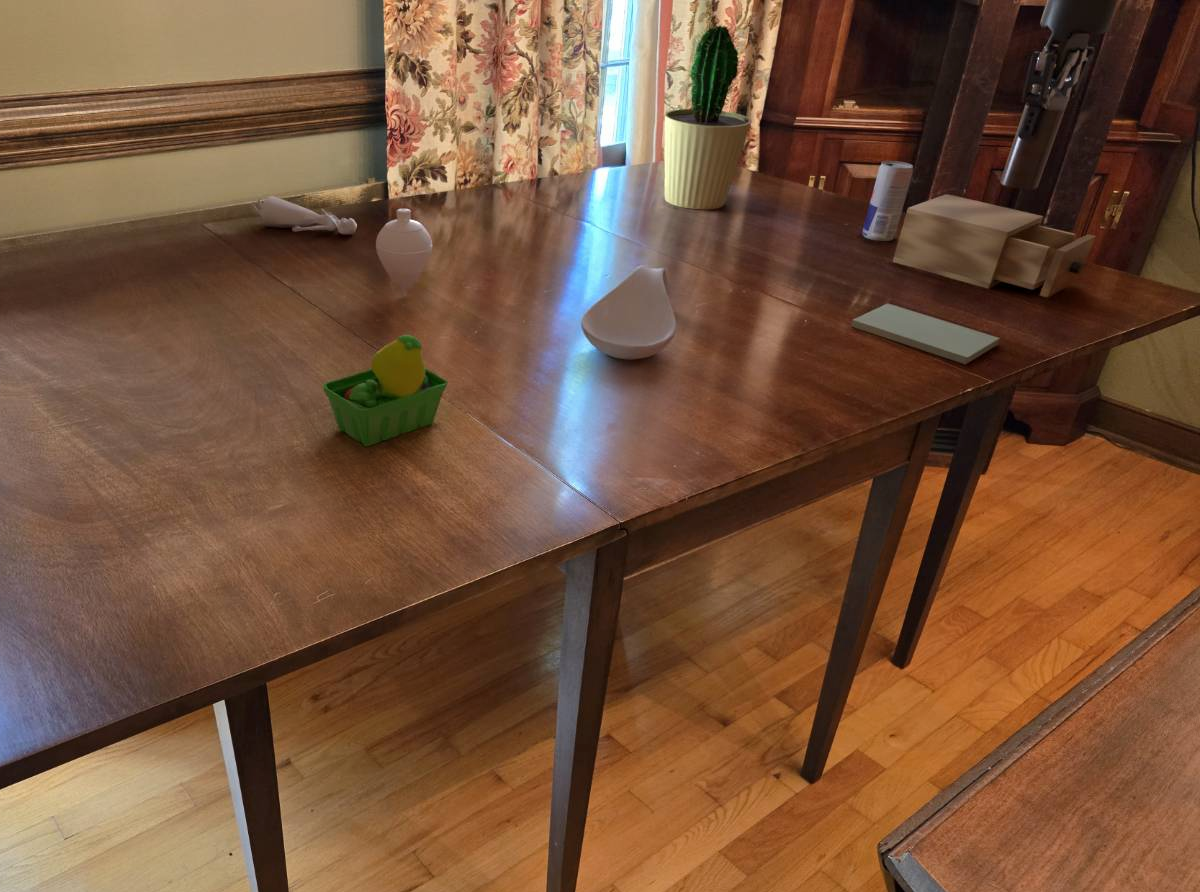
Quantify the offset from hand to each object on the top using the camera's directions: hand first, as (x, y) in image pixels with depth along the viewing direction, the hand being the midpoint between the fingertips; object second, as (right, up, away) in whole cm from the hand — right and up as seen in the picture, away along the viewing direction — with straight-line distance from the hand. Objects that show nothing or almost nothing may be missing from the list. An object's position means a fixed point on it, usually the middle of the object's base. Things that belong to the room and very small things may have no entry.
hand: (1035, 136), depth 125 cm
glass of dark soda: (0, -5, +3) cm, 6 cm away
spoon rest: (-52, -26, +2) cm, 58 cm away
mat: (-12, -25, +5) cm, 28 cm away
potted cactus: (-32, +11, +56) cm, 66 cm away
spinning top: (-83, -19, +10) cm, 86 cm away
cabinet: (+5, -8, +30) cm, 31 cm away
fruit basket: (-82, -41, -22) cm, 94 cm away
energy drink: (-3, 0, +42) cm, 42 cm away
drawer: (+11, -12, +24) cm, 29 cm away
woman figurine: (-101, -1, +34) cm, 107 cm away
